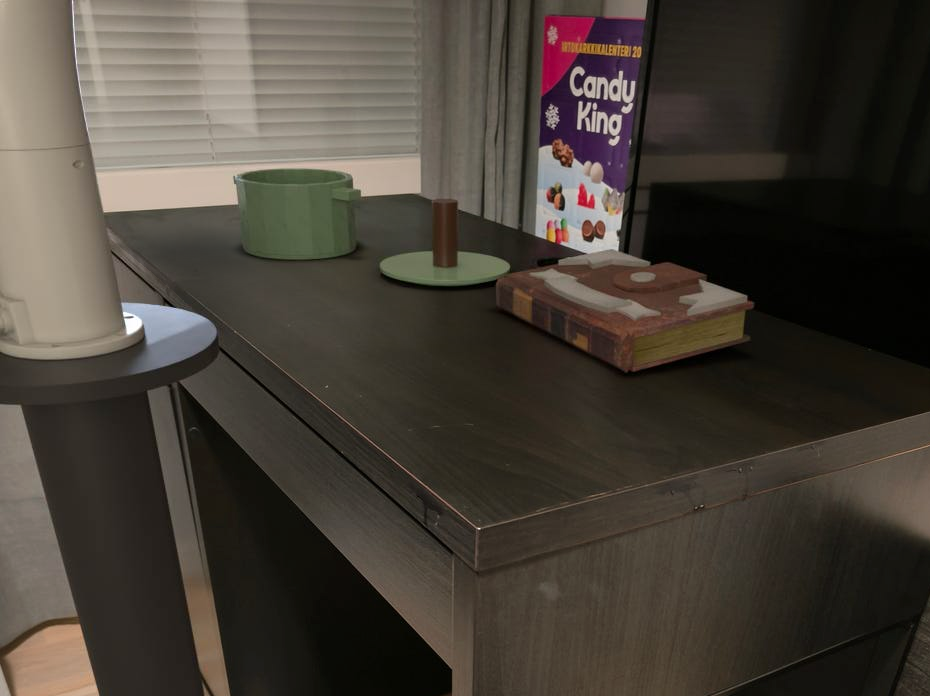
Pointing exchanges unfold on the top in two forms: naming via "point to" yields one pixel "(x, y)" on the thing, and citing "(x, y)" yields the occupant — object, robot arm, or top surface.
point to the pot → (297, 213)
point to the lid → (444, 256)
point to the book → (626, 308)
